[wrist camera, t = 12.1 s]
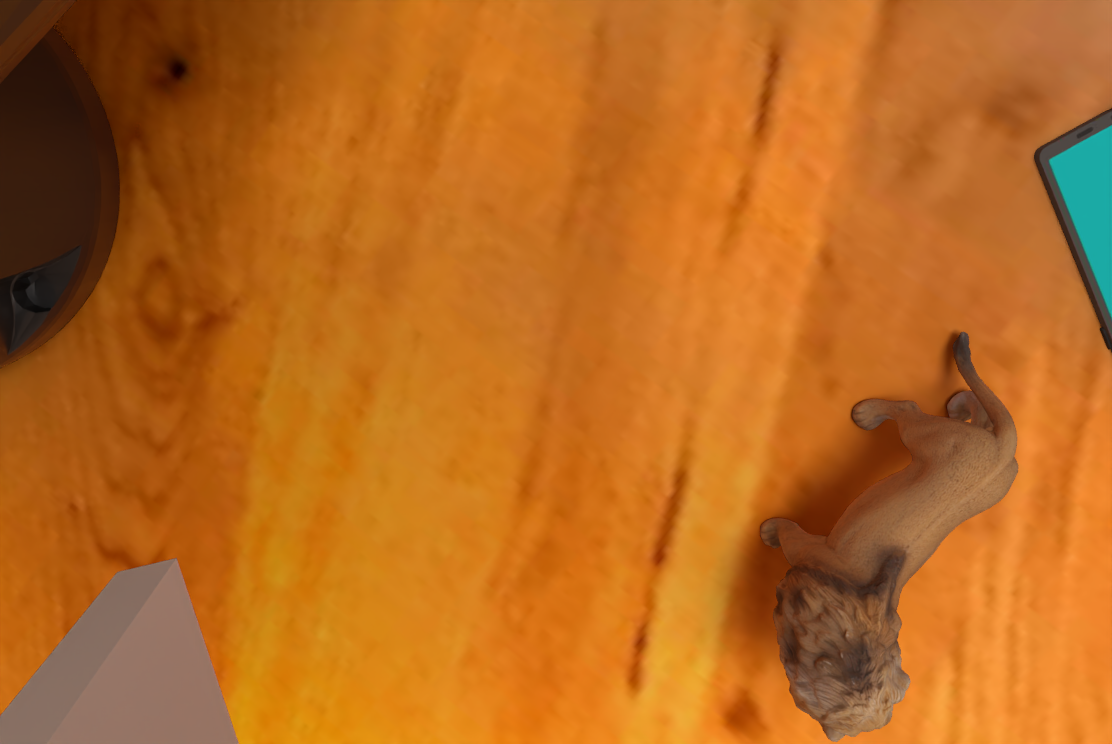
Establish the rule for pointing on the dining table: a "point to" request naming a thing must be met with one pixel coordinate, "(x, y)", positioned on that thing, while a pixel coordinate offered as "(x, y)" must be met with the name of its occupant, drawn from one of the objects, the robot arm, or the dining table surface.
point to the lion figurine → (884, 553)
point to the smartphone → (1085, 205)
